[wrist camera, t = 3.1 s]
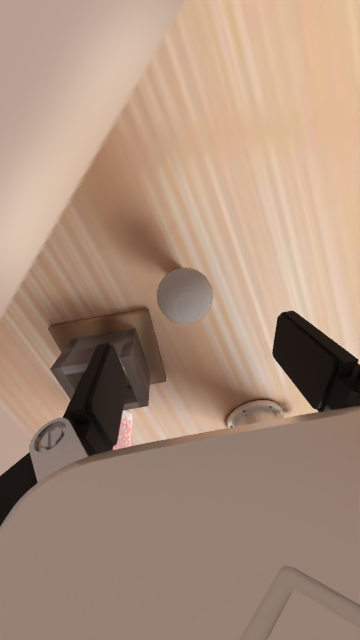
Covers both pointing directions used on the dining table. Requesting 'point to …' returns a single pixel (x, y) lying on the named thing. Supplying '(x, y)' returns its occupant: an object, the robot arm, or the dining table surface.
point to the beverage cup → (124, 431)
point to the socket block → (129, 342)
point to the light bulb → (184, 295)
